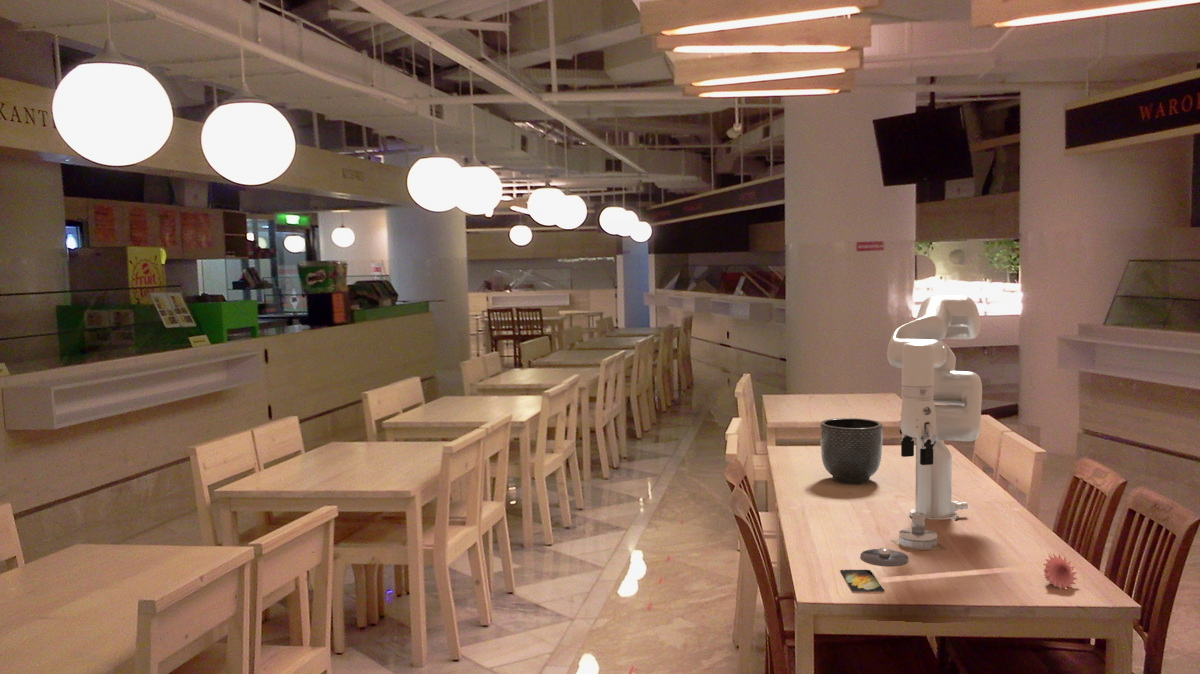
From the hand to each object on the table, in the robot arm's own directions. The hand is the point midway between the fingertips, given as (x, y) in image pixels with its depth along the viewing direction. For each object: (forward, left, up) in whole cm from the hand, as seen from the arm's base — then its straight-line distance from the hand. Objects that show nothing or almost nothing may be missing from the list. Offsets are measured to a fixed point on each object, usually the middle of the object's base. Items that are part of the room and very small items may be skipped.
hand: (916, 460), depth 234 cm
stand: (0, 0, -22) cm, 22 cm away
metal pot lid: (+13, +8, -22) cm, 27 cm away
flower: (-17, +31, -23) cm, 42 cm away
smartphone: (+24, +19, -23) cm, 38 cm away
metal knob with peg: (0, 0, -21) cm, 21 cm away
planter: (-14, -70, -23) cm, 75 cm away
